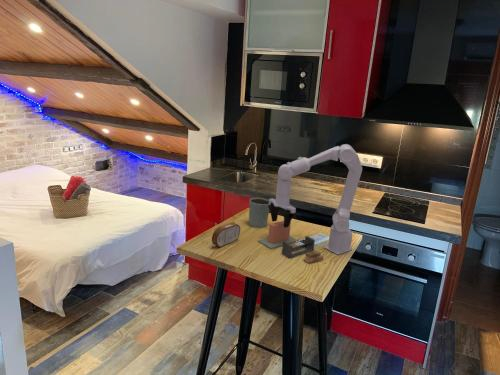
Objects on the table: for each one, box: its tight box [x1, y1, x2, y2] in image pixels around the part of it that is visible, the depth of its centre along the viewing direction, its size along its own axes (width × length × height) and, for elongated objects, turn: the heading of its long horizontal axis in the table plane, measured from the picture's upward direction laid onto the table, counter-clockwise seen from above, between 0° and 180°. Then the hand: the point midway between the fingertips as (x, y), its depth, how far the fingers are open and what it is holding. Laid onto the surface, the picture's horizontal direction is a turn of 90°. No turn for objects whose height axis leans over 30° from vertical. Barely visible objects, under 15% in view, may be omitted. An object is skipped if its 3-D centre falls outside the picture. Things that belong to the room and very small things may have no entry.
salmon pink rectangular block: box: [267, 220, 292, 244], centre depth 159 cm, size 10×2×8 cm, turn 128°
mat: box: [257, 235, 299, 250], centre depth 160 cm, size 16×8×1 cm, turn 128°
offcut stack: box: [302, 249, 324, 265], centre depth 144 cm, size 8×3×4 cm, turn 127°
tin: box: [211, 221, 241, 248], centre depth 153 cm, size 15×3×8 cm, turn 141°
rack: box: [281, 235, 316, 259], centre depth 150 cm, size 14×5×5 cm, turn 128°
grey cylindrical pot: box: [248, 197, 270, 229], centre depth 176 cm, size 10×10×12 cm
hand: (280, 223), depth 158 cm, fingers open, 7 cm apart
